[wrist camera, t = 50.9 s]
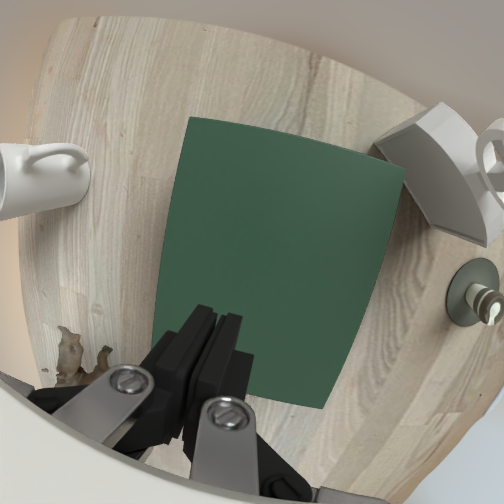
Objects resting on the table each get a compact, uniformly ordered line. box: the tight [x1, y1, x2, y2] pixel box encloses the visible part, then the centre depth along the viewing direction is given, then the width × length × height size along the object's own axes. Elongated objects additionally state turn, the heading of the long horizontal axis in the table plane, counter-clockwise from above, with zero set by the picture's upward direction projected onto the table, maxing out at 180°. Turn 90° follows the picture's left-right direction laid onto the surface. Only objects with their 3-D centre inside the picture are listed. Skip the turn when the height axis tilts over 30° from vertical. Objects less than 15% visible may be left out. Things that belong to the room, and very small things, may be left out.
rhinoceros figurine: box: [42, 326, 113, 388], centre depth 28 cm, size 8×14×15 cm
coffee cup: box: [447, 258, 504, 326], centre depth 22 cm, size 12×12×5 cm
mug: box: [0, 143, 90, 221], centre depth 21 cm, size 10×7×12 cm, turn 108°
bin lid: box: [151, 117, 406, 409], centre depth 17 cm, size 16×13×1 cm
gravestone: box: [374, 102, 504, 248], centre depth 14 cm, size 3×9×18 cm, turn 40°
